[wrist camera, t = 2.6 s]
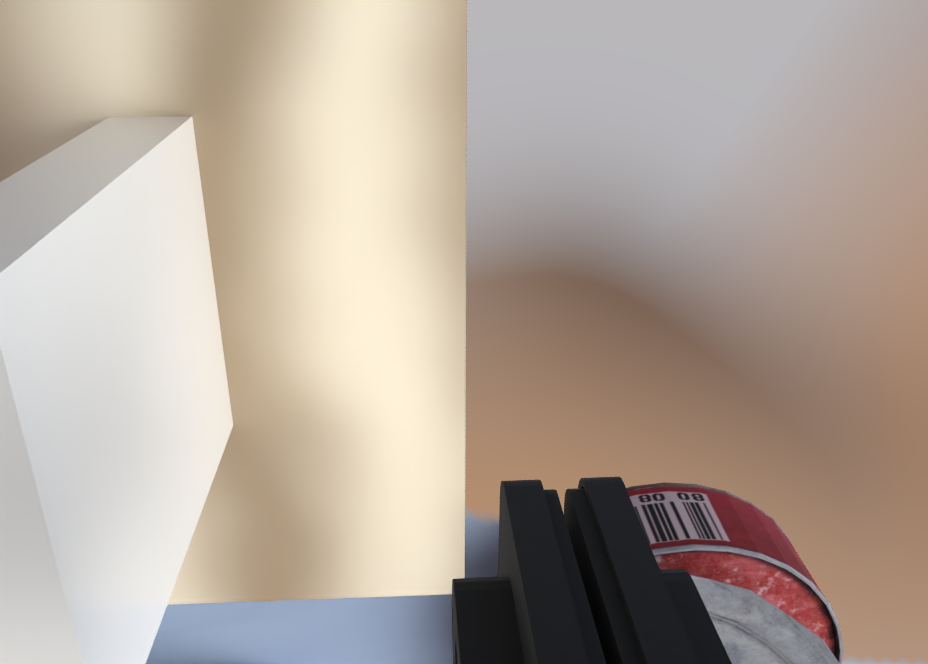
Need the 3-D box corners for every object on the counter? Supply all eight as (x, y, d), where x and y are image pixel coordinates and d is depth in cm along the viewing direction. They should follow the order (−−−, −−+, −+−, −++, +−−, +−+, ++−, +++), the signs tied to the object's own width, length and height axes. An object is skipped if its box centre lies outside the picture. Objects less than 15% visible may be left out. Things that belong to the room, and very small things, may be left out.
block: (192, 116, 19) (-16, 285, 10) (233, 425, 22) (108, 763, 13) (102, 116, 19) (-192, 288, 10) (157, 427, 22) (-22, 770, 13)
